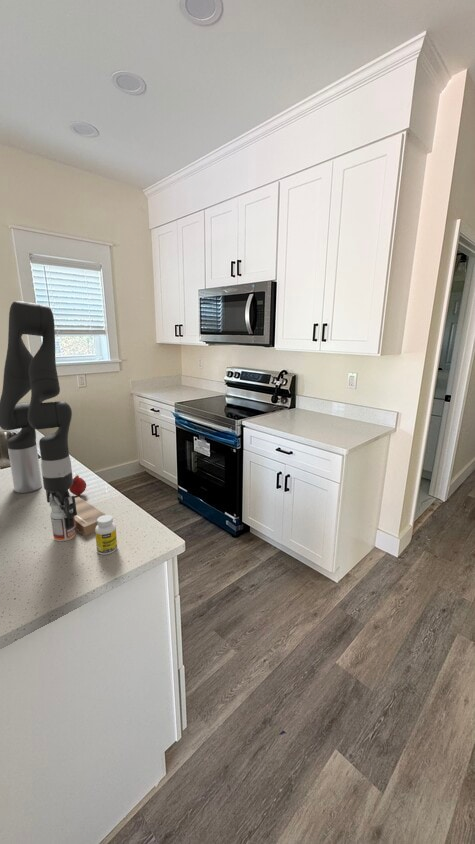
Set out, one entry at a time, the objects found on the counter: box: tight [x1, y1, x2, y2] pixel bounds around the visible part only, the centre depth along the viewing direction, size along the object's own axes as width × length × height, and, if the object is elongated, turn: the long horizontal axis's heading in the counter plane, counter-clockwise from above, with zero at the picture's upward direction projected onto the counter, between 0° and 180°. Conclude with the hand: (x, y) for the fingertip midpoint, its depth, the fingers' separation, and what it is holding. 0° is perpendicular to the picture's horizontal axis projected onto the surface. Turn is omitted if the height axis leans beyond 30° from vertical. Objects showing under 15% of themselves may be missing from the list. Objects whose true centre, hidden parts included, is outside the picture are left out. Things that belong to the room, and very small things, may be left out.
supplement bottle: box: [94, 514, 118, 556], centre depth 98 cm, size 5×5×10 cm
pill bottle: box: [50, 501, 77, 542], centre depth 103 cm, size 6×6×11 cm
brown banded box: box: [74, 496, 106, 537], centre depth 114 cm, size 20×8×3 cm, turn 49°
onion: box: [68, 474, 87, 497], centre depth 129 cm, size 6×6×8 cm
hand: (63, 522), depth 104 cm, fingers open, 8 cm apart
